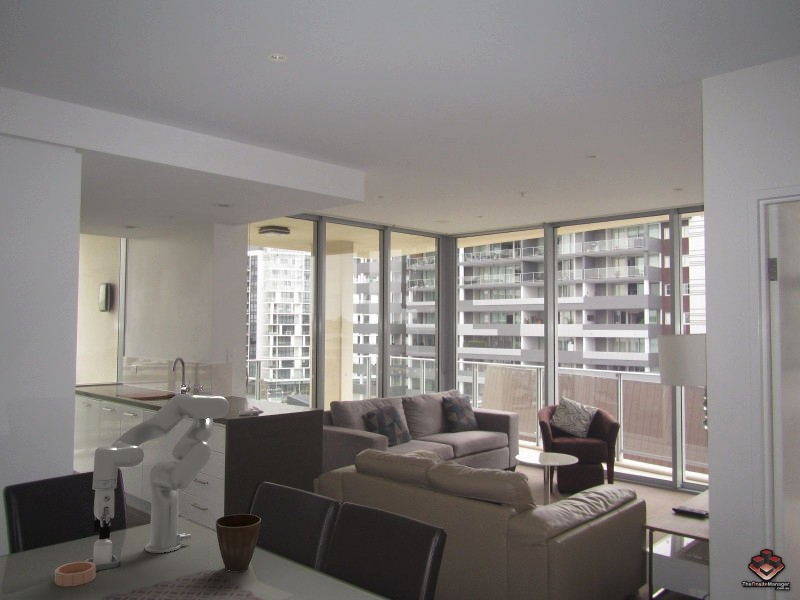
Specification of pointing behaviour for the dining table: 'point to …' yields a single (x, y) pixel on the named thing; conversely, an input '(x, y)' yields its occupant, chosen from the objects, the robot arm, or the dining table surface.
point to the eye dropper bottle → (102, 552)
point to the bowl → (75, 573)
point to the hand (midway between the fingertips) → (101, 534)
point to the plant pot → (237, 539)
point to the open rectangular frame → (106, 565)
